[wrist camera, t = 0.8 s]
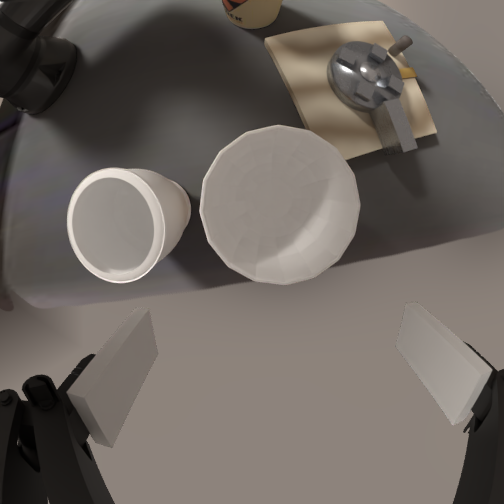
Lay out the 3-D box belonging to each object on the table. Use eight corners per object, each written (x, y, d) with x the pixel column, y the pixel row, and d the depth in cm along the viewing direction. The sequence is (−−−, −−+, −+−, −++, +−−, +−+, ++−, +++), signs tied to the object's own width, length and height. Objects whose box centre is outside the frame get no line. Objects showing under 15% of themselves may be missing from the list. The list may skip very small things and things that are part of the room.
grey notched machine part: (314, 56, 28) (322, 39, 23) (373, 46, 27) (387, 32, 22) (362, 162, 32) (378, 160, 27) (417, 145, 31) (437, 142, 26)
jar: (212, 192, 35) (185, 200, 21) (179, 258, 37) (139, 304, 23) (146, 159, 34) (87, 149, 19) (118, 224, 36) (55, 249, 22)
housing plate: (264, 44, 30) (266, 19, 23) (380, 25, 28) (397, 7, 21) (322, 171, 34) (338, 169, 27) (432, 136, 32) (460, 131, 25)
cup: (212, 222, 36) (179, 257, 20) (241, 139, 33) (230, 102, 17) (294, 251, 37) (325, 304, 20) (324, 170, 34) (381, 163, 18)
